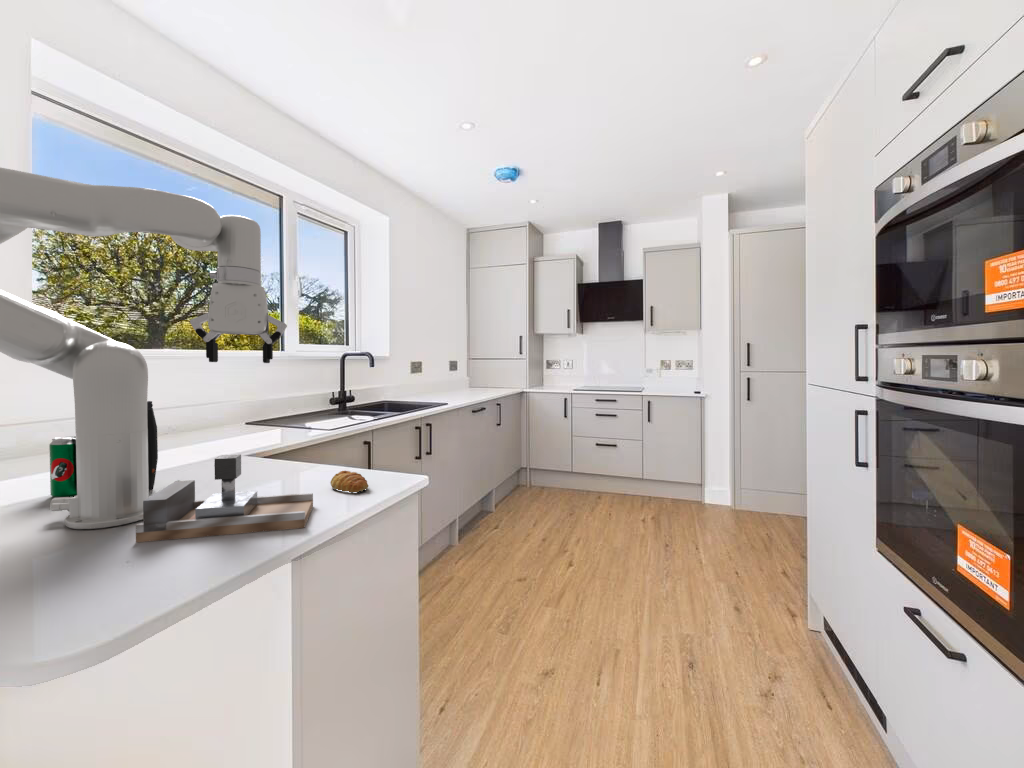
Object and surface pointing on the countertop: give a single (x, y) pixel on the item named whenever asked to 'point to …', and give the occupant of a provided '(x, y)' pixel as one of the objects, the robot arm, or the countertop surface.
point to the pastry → (349, 481)
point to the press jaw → (227, 492)
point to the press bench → (176, 518)
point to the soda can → (63, 467)
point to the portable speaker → (152, 445)
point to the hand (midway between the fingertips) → (240, 362)
